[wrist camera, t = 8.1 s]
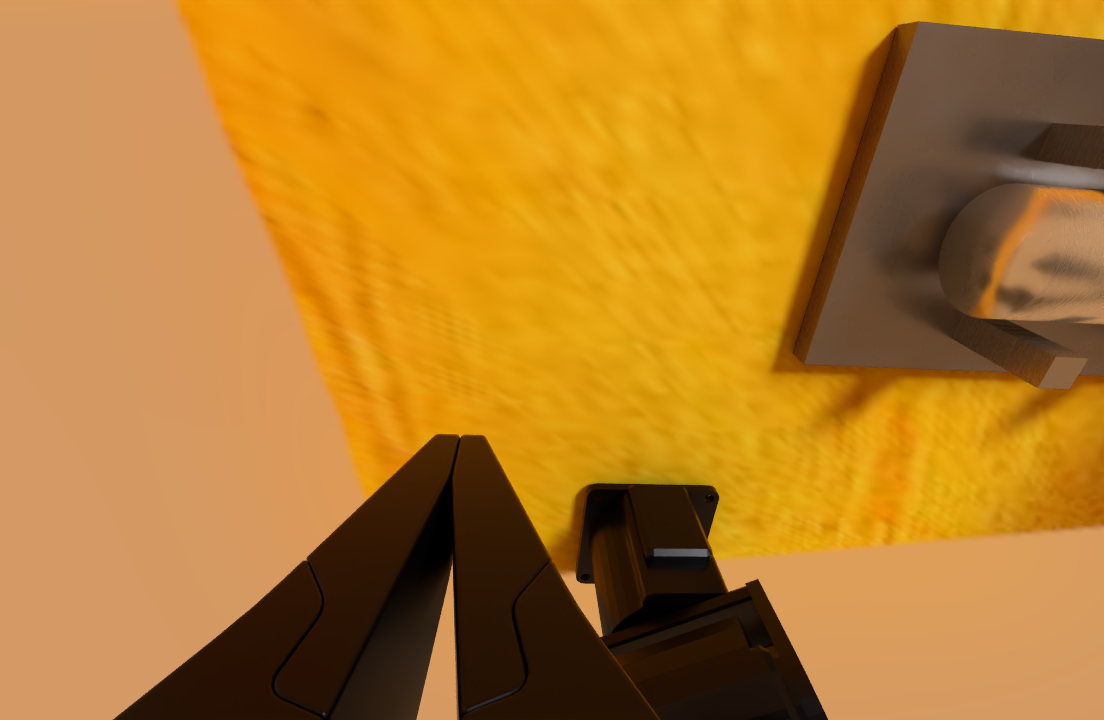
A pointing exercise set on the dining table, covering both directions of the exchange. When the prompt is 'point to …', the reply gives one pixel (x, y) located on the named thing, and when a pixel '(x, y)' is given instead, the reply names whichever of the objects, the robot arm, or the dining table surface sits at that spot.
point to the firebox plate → (955, 200)
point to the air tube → (1027, 255)
